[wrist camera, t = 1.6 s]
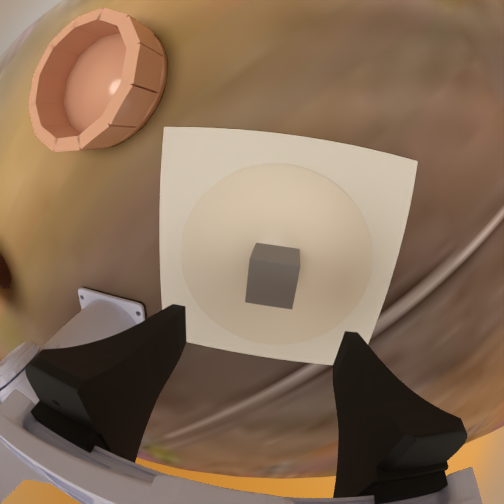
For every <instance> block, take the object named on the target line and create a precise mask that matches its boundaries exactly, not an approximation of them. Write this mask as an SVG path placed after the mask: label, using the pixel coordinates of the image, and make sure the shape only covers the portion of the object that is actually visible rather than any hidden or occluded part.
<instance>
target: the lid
mask: <svg viewBox="0 0 504 504" xmlns="http://www.w3.org/2000/svg"><path fill="white" fill-rule="evenodd" d="M180 255H181V266H182V271H183V275H184V278H185V281H186V284H187V287H188V289H189V291H190V293H191V295H192V296H193V298H194V300H195V301H196V303H197V304H198V305H199V307H200V308H201V309H202V310H203V311H204V313H205V314H206V315H207V316H208V317H209V318H210V319H212V320H213V321H214V322H215V323H216V324H218V325H219V326H220V327H222V328H223V329H225V330H227V331H229V332H230V333H232V334H234V335H236V336H239V337H241V338H244V339H247V340H250V341H253V342H258V343H263V344H272V345H286V344H294V343H300V342H304V341H308V340H311V339H313V338H316V337H319V336H321V335H323V334H325V333H327V332H329V331H330V330H332V329H333V328H335V327H336V326H338V325H339V324H340V323H341V322H342V321H344V320H345V319H346V318H347V317H348V316H349V315H350V314H351V313H352V311H353V310H354V309H355V308H356V306H357V305H358V303H359V302H360V300H361V299H362V297H363V295H364V293H365V291H366V288H367V285H368V283H369V280H370V275H371V271H372V262H373V251H372V242H371V237H370V233H369V229H368V227H367V224H366V222H365V219H364V217H363V216H362V214H361V212H360V210H359V209H358V207H357V206H356V204H355V203H354V202H353V200H352V199H351V198H350V197H349V196H348V195H347V194H346V193H345V192H344V191H343V190H342V189H341V188H340V187H339V186H337V185H336V184H335V183H333V182H332V181H330V180H329V179H328V178H326V177H324V176H322V175H320V174H318V173H316V172H314V171H311V170H308V169H306V168H303V167H298V166H294V165H289V164H262V165H257V166H252V167H247V168H245V169H242V170H239V171H236V172H234V173H232V174H230V175H228V176H226V177H224V178H223V179H221V180H219V181H218V182H217V183H215V184H214V185H213V186H211V187H210V188H209V189H208V190H207V191H206V192H205V193H204V194H203V195H202V196H201V197H200V199H199V200H198V201H197V203H196V204H195V205H194V207H193V209H192V211H191V212H190V214H189V216H188V218H187V221H186V224H185V226H184V229H183V234H182V238H181V249H180Z"/></svg>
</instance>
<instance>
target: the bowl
mask: <svg viewBox="0 0 504 504" xmlns="http://www.w3.org/2000/svg"><path fill="white" fill-rule="evenodd" d="M50 43H51V44H49V45H48V47H47V49H46V51H45V52H44V54H43V56H42V58H41V60H40V62H39V64H38V66H37V68H36V70H35V72H34V74H35V75H33V80H32V86H31V92H30V100H29V112H30V116H31V121H32V125H33V128H34V132H35V135H36V137H37V138H38V139H40V140H41V141H42V142H43V143H44V144H45V145H46V146H47V147H48V148H50V149H51V150H52V151H53V152H61V151H74V150H86V149H98V148H109V147H111V146H114V145H117V144H119V143H122V142H124V141H125V140H127V139H129V138H130V137H131V136H133V135H134V134H135V133H137V132H138V131H139V130H140V129H141V128H142V127H143V126H144V124H145V123H146V122H147V121H148V120H149V118H150V117H151V115H152V114H153V112H154V111H155V109H156V107H157V105H158V104H159V101H160V99H161V97H162V94H163V91H164V88H165V84H166V79H167V58H166V53H165V50H164V48H163V46H162V44H161V42H160V41H159V39H158V38H157V37H156V36H155V35H154V34H153V32H152V31H151V30H150V29H149V28H147V27H146V26H144V25H143V24H141V23H140V22H138V21H137V20H135V19H134V18H132V17H131V16H129V15H127V14H124V13H121V12H118V11H114V10H111V9H107V8H101V9H98V10H95V11H93V12H90V13H87V14H85V15H82V16H80V17H77V18H76V19H74V20H73V21H72V22H70V23H69V24H68V25H67V26H66V27H65V28H64V29H63V30H62V31H61V32H60V33H59V34H58V35H57V36H56V37H55V38H54V39H53V40H52V41H51V42H50Z"/></svg>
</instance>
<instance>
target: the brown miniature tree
mask: <svg viewBox="0 0 504 504" xmlns="http://www.w3.org/2000/svg"><path fill="white" fill-rule="evenodd" d="M10 283H11V278H10V274H9V270H8V267H7V265H6V263H5V261H4V259H3V257H2V256H0V286H1V287H2V288H9V287H10Z"/></svg>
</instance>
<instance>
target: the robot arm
mask: <svg viewBox="0 0 504 504" xmlns="http://www.w3.org/2000/svg"><path fill="white" fill-rule="evenodd" d="M78 294H79V299H80V304H81V308H82V310H81V311H80V312H79V313H78V314H77V315H76V316H74V317H73V318H72V319H71V320H70V321H69V322H68V323H67V324H65V325H64V326H63V327H62V328H61V329H60V330H59V331H58V332H57V333H56V334H55V335H53V336H52V337H51V338H50V339H49V340H48V341H47V342H46V343H45V344H44V345H43V346H42V347H40V348H39V347H38V345H37V344H36V343H35V342H32V343H31V342H28V341H25V342H24V343H22V344H21V345H19V346H18V347H16V348H15V349H14V350H13V351H12V352H10V353H9V354H8V355H7V356H6V357H5V358H3V359H2V360H1V361H0V503H1V502H2V501H3V500H4V499H5V498H6V497H7V496H8V495H9V494H10V493H11V492H12V491H13V490H14V489H15V488H16V487H17V486H18V485H19V484H20V483H21V482H22V481H23V480H25V479H27V480H33V481H39V482H44V483H50V484H53V485H54V486H55V487H57V488H58V489H60V490H61V491H63V492H64V493H66V494H67V495H69V496H71V497H72V498H74V499H75V500H77V501H78V502H80V503H82V504H482V501H481V497H480V493H479V489H478V485H477V482H476V478H475V475H474V472H473V468H471V467H470V468H467V469H463V470H461V471H457V472H454V473H451V474H449V475H448V476H446V475H445V470H447V469H448V464H447V460H448V459H449V458H450V457H452V456H453V455H454V454H455V453H456V452H457V451H458V450H459V449H460V448H461V447H462V446H463V444H464V443H465V441H466V439H467V433H466V430H465V428H464V425H463V423H462V420H461V418H458V417H456V416H454V415H452V414H449V413H447V412H445V411H443V410H441V409H439V408H437V407H436V406H434V405H432V404H430V403H429V402H427V401H426V400H424V399H423V398H421V397H420V396H419V395H417V394H416V393H414V392H413V391H412V390H411V389H409V388H408V387H407V386H406V385H405V384H404V383H402V382H401V381H400V380H399V379H398V378H397V377H396V376H395V375H394V374H393V373H392V372H391V371H390V370H389V369H388V368H387V367H386V366H385V365H384V364H383V362H382V361H381V360H380V359H379V358H378V357H377V355H376V354H375V353H374V352H373V351H372V349H371V348H370V347H369V346H368V344H367V343H366V342H365V341H364V339H363V338H362V337H361V336H360V335H359V333H358V332H349V331H345V332H344V335H343V338H342V341H341V344H340V347H339V350H338V352H337V355H336V358H335V361H334V363H333V386H334V394H335V401H336V409H337V417H338V427H339V445H338V463H337V474H336V483H335V489H334V496H333V498H292V497H280V496H274V495H269V494H261V493H254V492H246V491H240V490H234V489H229V488H223V487H219V486H213V485H209V484H205V483H201V482H197V481H193V480H189V479H185V478H180V477H176V476H172V475H167V474H164V473H161V472H158V471H155V470H152V469H150V468H147V467H144V466H141V465H139V464H136V463H135V460H136V457H137V453H138V450H139V446H140V443H141V440H142V437H143V434H144V431H145V428H146V426H147V423H148V420H149V418H150V415H151V413H152V410H153V408H154V405H155V403H156V400H157V398H158V396H159V394H160V392H161V391H162V389H163V387H164V385H165V384H166V382H167V380H168V378H169V377H170V375H171V373H172V371H173V370H174V368H175V366H176V364H177V362H178V361H179V359H180V356H181V354H182V352H183V349H184V346H185V344H186V309H185V306H181V305H176V304H172V305H170V306H168V307H166V308H165V309H163V310H161V311H160V312H158V313H156V314H155V315H153V316H151V317H149V318H148V319H146V320H145V312H144V306H143V305H142V304H141V303H138V302H134V301H130V300H126V299H123V298H119V297H115V296H111V295H108V294H104V293H100V292H97V291H93V290H90V289H86V288H83V287H81V288H79V289H78ZM139 312H140V313H139Z"/></svg>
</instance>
